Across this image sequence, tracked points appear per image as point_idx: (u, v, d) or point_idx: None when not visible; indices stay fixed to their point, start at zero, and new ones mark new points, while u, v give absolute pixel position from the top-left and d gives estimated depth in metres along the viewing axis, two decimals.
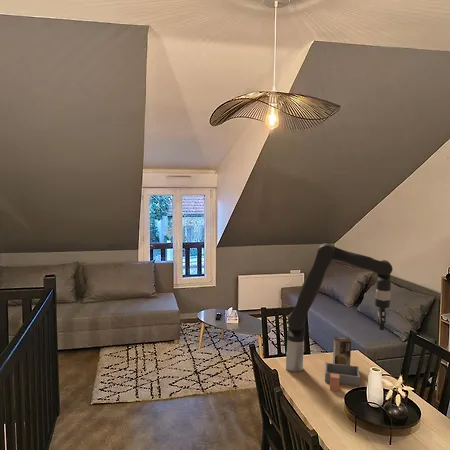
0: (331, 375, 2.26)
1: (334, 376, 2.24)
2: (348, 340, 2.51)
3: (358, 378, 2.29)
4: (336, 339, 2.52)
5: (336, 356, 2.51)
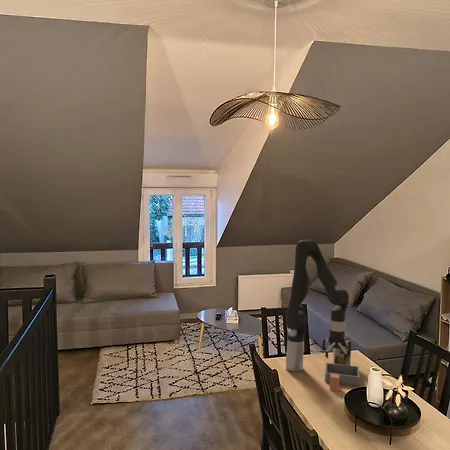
0: (331, 375, 2.26)
1: (334, 376, 2.24)
2: None
3: (358, 378, 2.29)
4: None
5: (336, 356, 2.51)
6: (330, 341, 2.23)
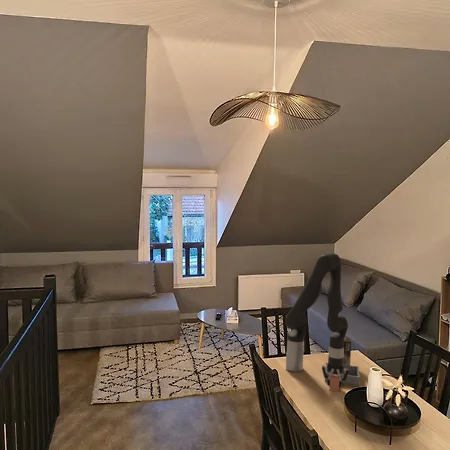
0: None
1: (334, 376, 2.24)
2: (348, 340, 2.51)
3: (358, 378, 2.29)
4: None
5: None
6: (328, 368, 2.25)
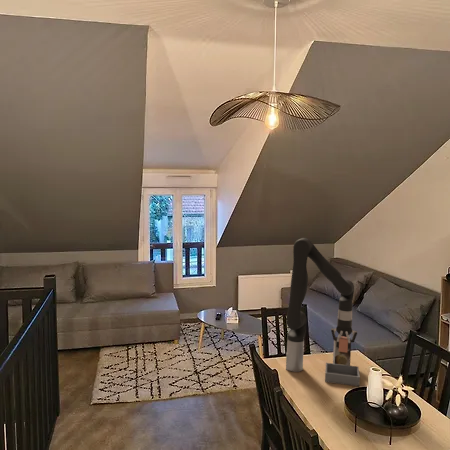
0: None
1: (343, 338, 2.34)
2: None
3: (358, 378, 2.29)
4: None
5: (336, 356, 2.51)
6: (338, 331, 2.34)
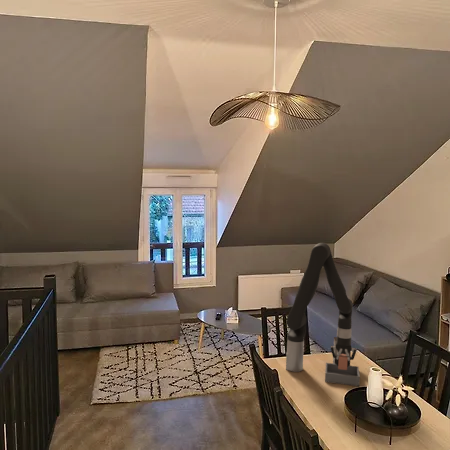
0: None
1: (343, 356, 2.35)
2: None
3: (358, 378, 2.29)
4: (336, 339, 2.52)
5: None
6: (337, 348, 2.36)
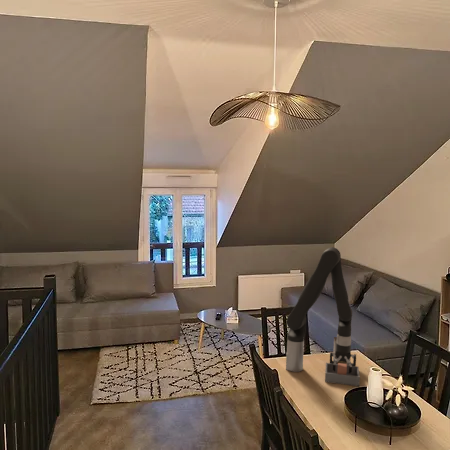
0: (339, 364, 2.37)
1: (342, 366, 2.36)
2: None
3: (358, 378, 2.29)
4: (336, 339, 2.52)
5: None
6: (337, 355, 2.36)
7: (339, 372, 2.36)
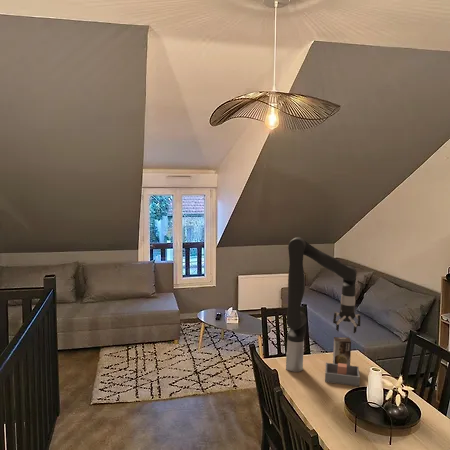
0: (339, 364, 2.37)
1: (342, 366, 2.36)
2: (348, 340, 2.51)
3: (358, 378, 2.29)
4: (336, 339, 2.52)
5: (336, 356, 2.51)
6: (341, 315, 2.37)
7: (339, 372, 2.36)
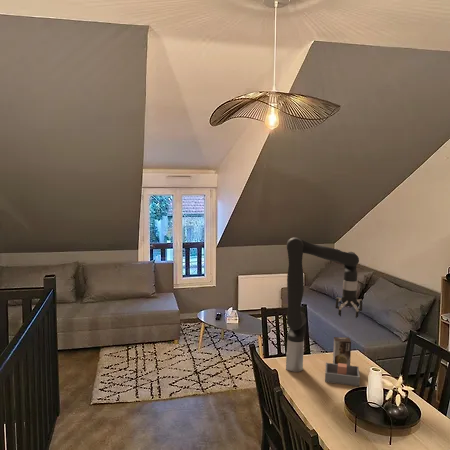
0: (339, 364, 2.37)
1: (342, 366, 2.36)
2: (348, 340, 2.51)
3: (358, 378, 2.29)
4: (336, 339, 2.52)
5: (336, 356, 2.51)
6: (343, 300, 2.41)
7: (339, 372, 2.36)
